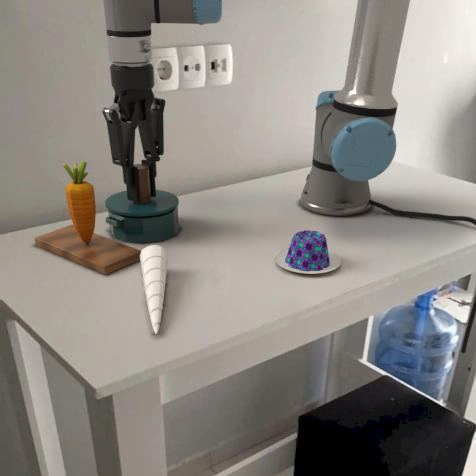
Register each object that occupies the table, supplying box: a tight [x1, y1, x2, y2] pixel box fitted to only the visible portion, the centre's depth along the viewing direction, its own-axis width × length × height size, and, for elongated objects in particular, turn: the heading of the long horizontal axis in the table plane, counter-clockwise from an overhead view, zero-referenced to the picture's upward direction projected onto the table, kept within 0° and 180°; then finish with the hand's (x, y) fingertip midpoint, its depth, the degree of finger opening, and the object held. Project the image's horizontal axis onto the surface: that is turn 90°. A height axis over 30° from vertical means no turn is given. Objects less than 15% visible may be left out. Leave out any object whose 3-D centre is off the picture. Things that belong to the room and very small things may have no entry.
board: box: [33, 224, 142, 276], centre depth 117 cm, size 20×9×2 cm, turn 51°
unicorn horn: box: [139, 244, 169, 335], centre depth 101 cm, size 5×24×5 cm, turn 3°
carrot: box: [62, 160, 97, 245], centre depth 113 cm, size 5×5×15 cm
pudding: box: [274, 229, 342, 275], centre depth 113 cm, size 12×12×5 cm
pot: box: [105, 205, 180, 244], centre depth 126 cm, size 13×17×5 cm
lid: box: [104, 163, 180, 217], centre depth 122 cm, size 14×14×7 cm
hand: (141, 197), depth 123 cm, fingers closed on lid, 4 cm apart
